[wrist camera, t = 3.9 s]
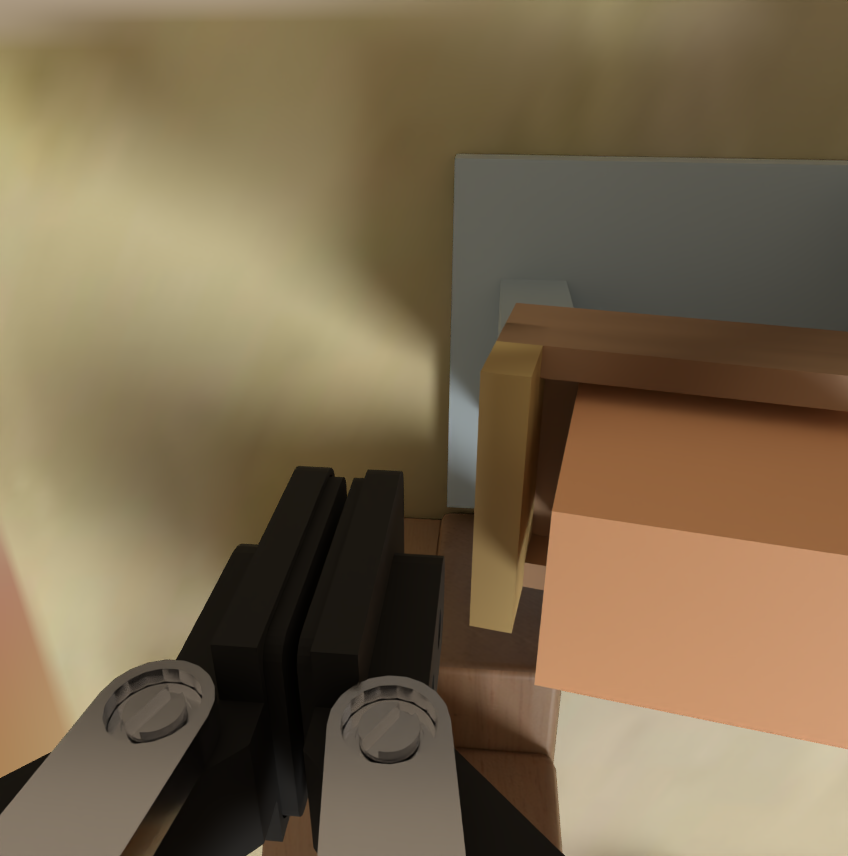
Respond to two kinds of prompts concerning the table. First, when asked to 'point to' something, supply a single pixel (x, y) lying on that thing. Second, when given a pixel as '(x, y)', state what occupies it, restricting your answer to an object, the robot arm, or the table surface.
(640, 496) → the block
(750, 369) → the beam
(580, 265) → the stand
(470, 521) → the wooden toy
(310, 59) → the table surface
